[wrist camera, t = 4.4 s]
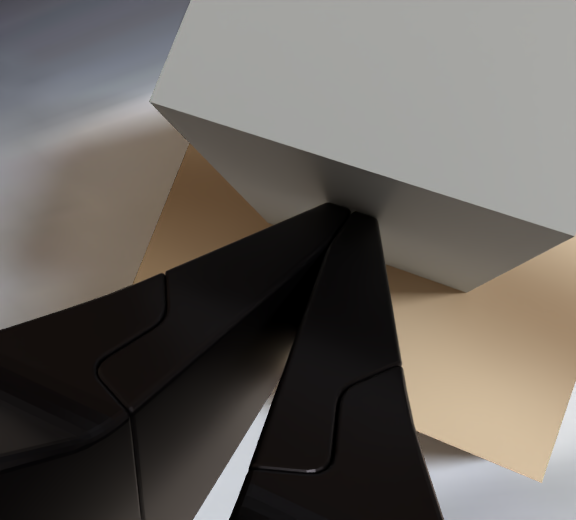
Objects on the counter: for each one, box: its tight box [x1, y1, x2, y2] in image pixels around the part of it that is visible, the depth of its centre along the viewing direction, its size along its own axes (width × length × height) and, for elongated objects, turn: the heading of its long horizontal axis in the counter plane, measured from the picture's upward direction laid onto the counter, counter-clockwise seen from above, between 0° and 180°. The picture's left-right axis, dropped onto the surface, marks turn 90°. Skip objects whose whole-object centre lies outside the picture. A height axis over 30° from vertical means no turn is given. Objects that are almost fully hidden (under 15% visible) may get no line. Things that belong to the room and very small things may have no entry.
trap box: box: [132, 143, 576, 483], centre depth 12 cm, size 17×10×8 cm, turn 159°
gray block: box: [149, 0, 576, 293], centre depth 10 cm, size 5×5×7 cm
